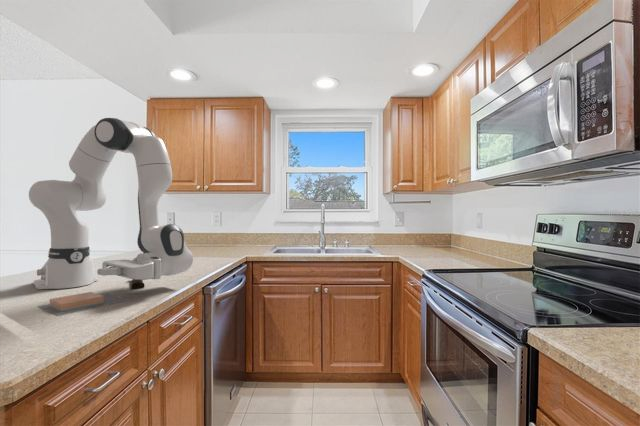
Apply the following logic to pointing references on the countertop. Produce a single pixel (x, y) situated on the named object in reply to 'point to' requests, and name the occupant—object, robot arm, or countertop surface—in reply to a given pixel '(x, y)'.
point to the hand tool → (137, 284)
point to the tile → (76, 301)
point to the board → (107, 300)
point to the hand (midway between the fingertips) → (99, 272)
